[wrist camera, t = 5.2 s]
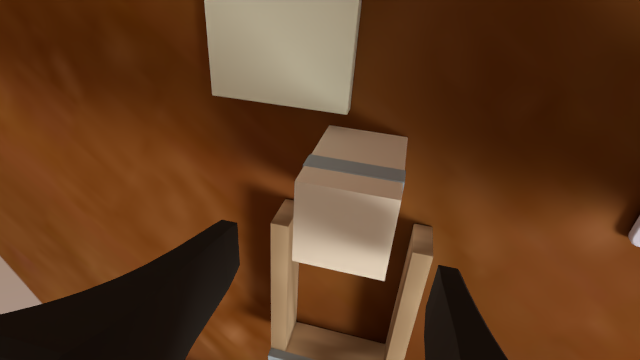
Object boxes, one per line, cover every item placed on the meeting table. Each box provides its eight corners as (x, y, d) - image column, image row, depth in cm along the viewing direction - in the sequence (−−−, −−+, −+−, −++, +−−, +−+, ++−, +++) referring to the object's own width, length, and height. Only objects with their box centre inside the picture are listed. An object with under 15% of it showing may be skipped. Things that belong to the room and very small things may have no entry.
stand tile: (368, -59, 15) (365, -60, 14) (349, 109, 18) (347, 114, 18) (207, -68, 16) (198, -70, 15) (219, 90, 20) (212, 95, 19)
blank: (409, 136, 18) (402, 199, 13) (395, 204, 20) (385, 282, 15) (328, 123, 19) (293, 179, 14) (322, 191, 21) (290, 261, 16)
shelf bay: (432, 227, 21) (433, 264, 18) (397, 356, 26) (394, 399, 24) (285, 198, 22) (266, 229, 19) (283, 327, 28) (268, 364, 25)
